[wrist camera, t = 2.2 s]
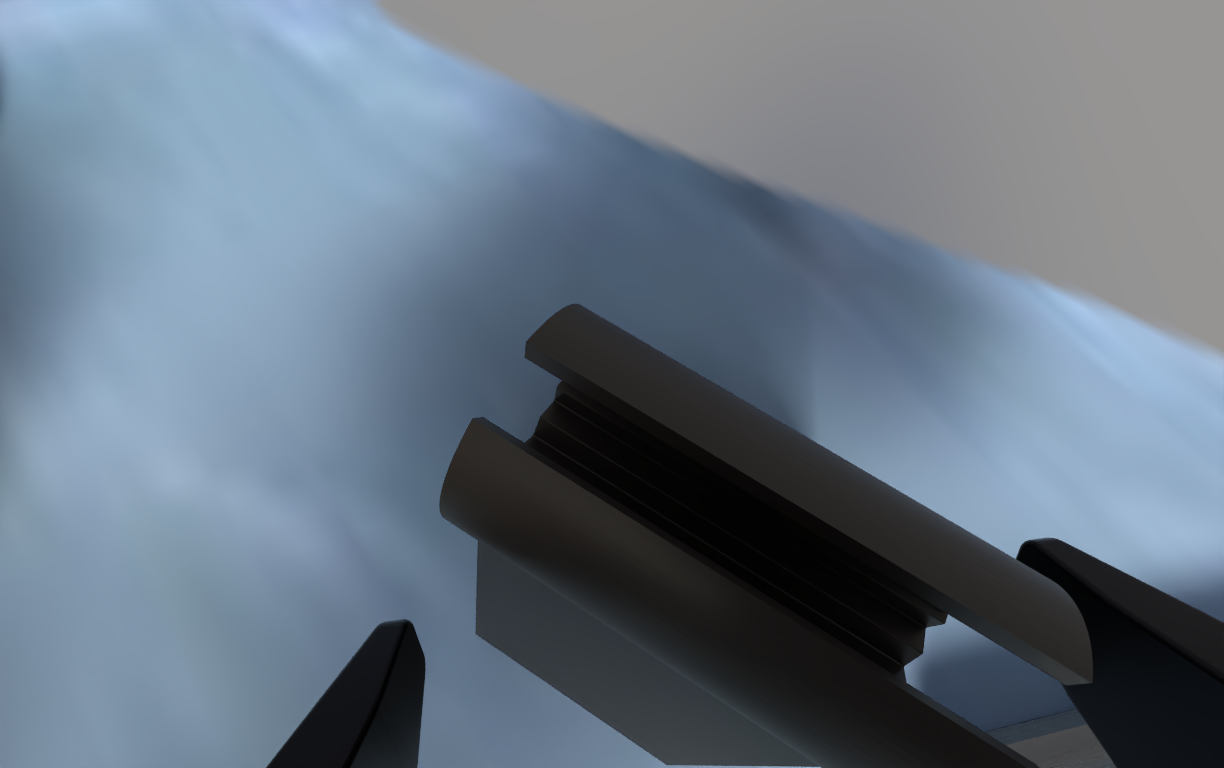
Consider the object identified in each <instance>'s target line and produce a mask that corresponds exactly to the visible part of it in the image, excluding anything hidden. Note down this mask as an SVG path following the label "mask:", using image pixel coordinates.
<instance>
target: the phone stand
mask: <svg viewBox="0 0 1224 768" xmlns="http://www.w3.org/2000/svg"><path fill="white" fill-rule="evenodd" d="M525 358H526V359H528V360H530V361H531V362H533V363H534V364H536V365H538V366H539V367H541V368H543V369H544V370H546V371H548V372H549V373H551V374H553V375H554V376H556V377H558V378H559V379H561V380H562V381H561V382H560V384H559V385H558V386H557V388H556V395H555V400H554V402H553V403H552V404H551V405H550V406H549V407H548V409H547V410H546V411H545V412H544V413H543V415H542V416H541V417H540V419H539V422H538V424H537V427H536V430H535V432H534V435H533V436H532V437H531V438H530V439H528V440H527V441H526V442H525V443H524V442H522V441H520V440H519V439H517V438H516V437H514V436H512V435H511V434H509V433H508V432H506V431H504V430H503V429H501V428H500V427H498V426H496V425H495V424H493V423H492V422H490V421H489V420H487V419H485V418H484V417H481V418H473V419H472V421H471V422H470V424H469V426H468V428H467V430H466V432H465V434H464V436H463V438H462V440H461V441H460V443H459V446H458V448H457V450H456V452H455V454H454V456H453V459H452V461H451V464H450V466H449V469H448V471H447V474H446V477H445V480H444V483H443V487H442V491H441V496H440V505H439V507H440V513H441V515H442V517H443V518H444V519H446V520H447V521H449V522H451V523H452V524H454V525H455V526H457V527H458V528H460V529H461V530H463V531H464V532H466V533H467V534H469V535H470V536H472V537H473V538H475V539H476V540H478V557H477V597H476V635H478V636H479V637H481V638H482V639H484V640H485V641H487V642H488V643H490V644H491V645H492V646H494V647H495V648H497V649H498V650H500V651H501V652H503V653H504V654H506V655H507V656H509V657H510V658H511V659H513V660H514V661H516V662H517V663H519V664H520V665H522V666H523V667H525V668H526V669H528V670H529V671H530V672H532V673H533V674H535V675H536V676H538V677H539V678H541V679H542V680H544V681H545V682H546V683H548V684H549V685H551V686H552V687H554V688H555V689H557V690H558V691H560V692H561V693H563V694H564V695H565V696H567V697H568V698H570V699H571V700H573V701H574V702H576V703H577V704H579V705H580V706H582V707H583V708H584V709H586V710H587V711H589V712H590V713H592V714H593V715H595V716H596V717H598V718H599V719H601V720H602V721H603V722H605V723H606V724H608V725H609V726H611V727H612V728H614V729H615V730H617V731H618V732H619V733H621V734H622V735H624V736H625V737H627V738H628V739H630V740H631V741H633V742H634V743H636V744H637V745H638V746H640V747H641V748H643V749H644V750H646V751H647V752H649V753H650V754H652V755H653V756H655V757H656V758H657V759H659V760H660V761H662V762H663V763H665V764H666V765H713V766H802V767H821V768H1039V767H1038V766H1037V764H1035V763H1033V762H1032V761H1030V760H1029V759H1027V758H1025V757H1024V756H1022V755H1021V754H1019V753H1017V752H1016V751H1014V750H1013V749H1011V748H1009V747H1008V746H1006V745H1005V744H1003V743H1001V742H1000V741H998V740H997V739H995V738H994V737H992V736H990V735H989V734H987V733H986V732H984V731H982V730H981V729H979V728H978V727H976V726H974V725H973V724H971V723H970V722H968V721H966V720H965V719H963V718H962V717H960V716H958V715H957V714H955V713H954V712H952V711H950V710H949V709H947V708H946V707H944V706H943V705H941V704H939V703H938V702H936V701H935V700H933V699H931V698H930V697H928V696H927V695H925V694H923V693H922V692H920V691H919V690H917V689H915V688H914V687H912V686H911V685H909V684H907V683H906V678H905V672H904V666H905V665H906V664H908V663H910V662H911V661H913V660H914V659H916V658H917V657H919V656H920V655H922V654H923V648H924V639H925V630H926V628H927V627H931V626H936V625H942V624H945V622H946V619H947V616H948V614H949V615H950V616H952V617H954V618H955V619H957V620H959V621H960V622H962V623H964V624H965V625H967V626H969V627H970V628H972V629H974V630H975V631H977V632H978V633H980V634H982V635H983V636H985V637H987V638H988V639H990V640H992V641H993V642H995V643H997V644H998V645H1000V646H1002V647H1003V648H1005V649H1007V650H1008V651H1010V652H1011V653H1013V654H1015V655H1016V656H1018V657H1020V658H1021V659H1023V660H1025V661H1026V662H1028V663H1030V664H1031V665H1033V666H1035V667H1036V668H1038V669H1040V670H1041V671H1043V672H1045V673H1046V674H1048V675H1049V676H1051V677H1053V678H1054V679H1056V680H1058V681H1059V682H1061V683H1063V684H1064V685H1075V684H1087V683H1093V659H1092V650H1091V643H1090V639H1089V634H1088V631H1087V627H1086V625H1085V622H1084V619H1083V617H1082V615H1081V613H1080V611H1079V609H1078V607H1077V605H1076V604H1075V602H1074V601H1073V599H1072V598H1071V597H1070V596H1069V594H1068V593H1067V592H1066V591H1065V590H1064V589H1063V588H1062V587H1060V586H1059V585H1058V584H1057V583H1055V582H1054V581H1052V580H1050V579H1049V578H1047V577H1045V576H1044V575H1042V574H1040V573H1038V572H1037V571H1035V570H1033V569H1032V568H1030V567H1028V566H1026V565H1025V564H1023V563H1021V562H1020V561H1018V560H1016V559H1014V558H1013V557H1011V556H1009V555H1008V554H1006V553H1004V552H1002V551H1001V550H999V549H997V548H996V547H994V546H992V545H990V544H989V543H987V542H985V541H984V540H982V539H980V538H978V537H977V536H975V535H973V534H972V533H970V532H968V531H966V530H965V529H963V528H961V527H960V526H958V525H956V524H954V523H953V522H951V521H949V520H948V519H946V518H944V517H943V516H941V515H939V514H937V513H936V512H934V511H932V510H931V509H929V508H927V507H925V506H924V505H922V504H920V503H919V502H917V501H915V500H913V499H912V498H910V497H908V496H907V495H905V494H903V493H901V492H900V491H898V490H896V489H895V488H893V487H891V486H889V485H888V484H886V483H884V482H883V481H881V480H879V479H877V478H876V477H874V476H872V475H871V474H869V473H867V472H865V471H864V470H862V469H860V468H859V467H857V466H855V465H853V464H852V463H850V462H848V461H847V460H845V459H843V458H841V457H840V456H838V455H836V454H835V453H833V452H831V451H830V450H828V449H826V448H824V447H823V446H821V445H819V444H818V443H816V442H814V441H812V440H811V439H809V438H807V437H806V436H804V435H802V434H800V433H799V432H797V431H795V430H794V429H792V428H790V427H788V426H787V425H785V424H783V423H782V422H780V421H778V420H776V419H775V418H773V417H771V416H770V415H768V414H766V413H764V412H763V411H761V410H759V409H758V408H756V407H754V406H752V405H751V404H749V403H747V402H746V401H744V400H742V399H740V398H739V397H737V396H735V395H734V394H732V393H730V392H729V391H727V390H725V389H723V388H722V387H720V386H718V385H717V384H715V383H713V382H711V381H710V380H708V379H706V378H705V377H703V376H701V375H699V374H698V373H696V372H694V371H693V370H691V369H689V368H687V367H686V366H684V365H682V364H681V363H679V362H677V361H675V360H674V359H672V358H670V357H669V356H667V355H665V354H663V353H662V352H660V351H658V350H657V349H655V348H653V347H651V346H650V345H648V344H646V343H645V342H643V341H641V340H639V339H638V338H636V337H634V336H633V335H631V334H629V333H627V332H626V331H624V330H622V329H621V328H619V327H617V326H616V325H614V324H612V323H610V322H609V321H607V320H605V319H604V318H602V317H600V316H598V315H597V314H595V313H593V312H592V311H590V310H588V309H586V308H585V307H583V306H581V305H579V304H572V305H569V306H567V307H565V308H563V309H561V310H560V311H558V312H557V313H555V314H554V315H553V316H552V317H551V318H549V319H548V320H547V321H546V322H545V323H544V324H543V325H542V326H541V327H540V328H539V329H538V330H537V331H536V332H535V333H534V334H533V335H532V336H531V337H530V338H529V339H528V341H527V342H526V348H525Z"/></svg>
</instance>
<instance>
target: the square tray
mask: <svg viewBox="0 0 1224 768" xmlns="http://www.w3.org/2000/svg"><path fill="white" fill-rule="evenodd" d="M986 733H987V734H989V735H990V736H992V737H994V738H995V739H997V740H998V741H1000V742H1001V743H1003V744H1005V745H1006V746H1008V747H1009V748H1011V749H1013V750H1014V751H1016V752H1017V753H1019V754H1021V755H1022V756H1024V757H1025V758H1027V759H1029V760H1030V761H1032V762H1033V763H1035V764H1037V766H1038V767H1039V768H1116V767H1115V765H1114V764H1113V762H1112V761H1111V759H1110V758H1109V756H1108V755H1107V753H1106V752H1105V750H1104V749H1103V747H1102V746H1101V744H1100V743H1099V741H1098V740H1097V738H1096V737H1095V736H1094V734H1093V733H1092V731H1091V730H1090V728H1089V727H1088V725H1087V724H1086V722H1085V721H1084V719H1083V718H1082V716H1081V715H1080V713H1079V712H1078V710H1077V709H1073V710H1069V711H1066V712H1062V713H1058V714H1054V715H1050V716H1046V717H1042V718H1038V719H1034V720H1031V721H1027V722H1023V723H1019V724H1015V725H1011V726H1007V727H1003V728H999V729H996V730H992V731H988V732H986Z"/></svg>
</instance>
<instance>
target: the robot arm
mask: <svg viewBox="0 0 1224 768" xmlns="http://www.w3.org/2000/svg"><path fill="white" fill-rule="evenodd" d="M1016 560H1018V561H1020V562H1021V563H1023V564H1025V565H1026V566H1028V567H1030V568H1032V569H1033V570H1035V571H1037V572H1038V573H1040V574H1042V575H1044V576H1045V577H1047V578H1049V579H1050V580H1052V581H1054V582H1055V583H1057V584H1058V585H1059V586H1060V587H1062V588H1063V589H1064V590H1065V591H1066V592H1067V593H1068V594H1069V596H1070V597H1071V598H1072V599H1073V601H1074V602H1075V604H1076V605H1077V607H1078V609H1079V611H1080V613H1081V615H1082V617H1083V619H1084V622H1085V625H1086V627H1087V631H1088V634H1089V639H1090V643H1091V650H1092V659H1093V683H1087V684H1075V685H1064V684H1063V683H1061V682H1060V683H1061V685H1062V686H1063V688H1064V690H1065V691H1066V693H1067V695H1068V696H1069V698H1070V699H1071V701H1072V703H1073V704H1074V706H1075V707H1076V709H1077V710H1078V712H1079V713H1080V715H1081V716H1082V718H1083V719H1084V721H1085V722H1086V724H1087V725H1088V727H1089V728H1090V730H1091V731H1092V733H1093V734H1094V736H1095V737H1096V738H1097V740H1098V741H1099V743H1100V744H1101V746H1102V747H1103V749H1104V750H1105V752H1106V753H1107V755H1108V756H1109V758H1110V759H1111V761H1112V762H1113V764H1114V765H1115V767H1116V768H1224V623H1223V622H1221V621H1219V620H1217V619H1216V618H1214V617H1212V616H1210V615H1208V614H1206V613H1204V612H1202V611H1200V610H1198V609H1196V608H1194V607H1192V606H1190V605H1188V604H1186V603H1184V602H1182V601H1180V600H1178V599H1176V598H1174V597H1172V596H1170V595H1168V594H1166V593H1164V592H1162V591H1160V590H1158V589H1156V588H1154V587H1152V586H1150V585H1148V584H1146V583H1144V582H1142V581H1140V580H1138V579H1136V578H1134V577H1132V576H1130V575H1128V574H1126V573H1124V572H1122V571H1120V570H1118V569H1116V568H1114V567H1112V566H1111V565H1109V564H1107V563H1105V562H1103V561H1101V560H1099V559H1097V558H1095V557H1093V556H1091V555H1089V554H1087V553H1085V552H1083V551H1081V550H1079V549H1077V548H1075V547H1073V546H1071V545H1069V544H1067V543H1065V542H1063V541H1061V540H1058V539H1055V538H1042V539H1034V540H1028V541H1025V542H1024V543H1023V544H1022V545H1021V547H1020V549H1019V552H1018V554H1017V557H1016ZM424 682H425V657H424V653H423V651H422V648H421V645H420V642H419V640H418V637H417V634H416V632H415V629H414V626H413V624H412V622H411V621H409V620H406V619H404V620H396V621H388V622H383V623H381V624H379V625H378V626H377V627H376V628H375V629H374V631H373V632H372V633H371V634H370V636H369V637H368V638H367V640H366V641H365V642H364V643H363V645H362V646H361V647H360V648H359V650H358V651H357V652H356V654H355V655H354V656H353V657H352V659H351V660H350V661H349V662H348V664H347V665H346V666H345V668H344V669H343V670H342V671H341V673H340V674H339V675H338V677H337V678H336V679H335V680H334V682H333V683H332V684H331V685H330V687H329V688H328V689H327V691H326V692H325V693H324V694H323V696H322V697H321V698H320V699H319V701H318V702H317V703H316V705H315V706H314V707H313V708H312V710H311V711H310V712H309V714H308V715H307V716H306V717H305V719H304V720H303V721H302V722H301V724H300V725H299V726H298V728H297V729H296V730H295V731H294V733H293V734H292V735H291V736H290V738H289V739H288V740H287V742H286V743H285V744H284V745H283V747H282V748H281V749H280V751H279V752H278V753H277V754H276V756H275V757H274V758H273V759H272V761H271V762H270V763H269V765H268V766H267V767H266V768H417V765H418V753H419V741H420V729H421V718H422V706H423V694H424Z"/></svg>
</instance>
